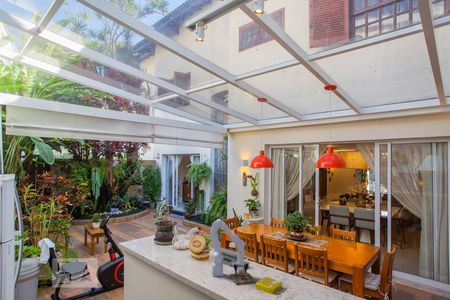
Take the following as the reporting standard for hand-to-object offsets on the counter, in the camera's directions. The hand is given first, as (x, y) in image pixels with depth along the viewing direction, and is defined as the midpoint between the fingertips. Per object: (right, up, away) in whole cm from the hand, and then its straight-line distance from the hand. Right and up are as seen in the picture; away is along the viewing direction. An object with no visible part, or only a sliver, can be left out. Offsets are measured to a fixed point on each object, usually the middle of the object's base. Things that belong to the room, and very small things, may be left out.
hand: (240, 273), depth 216 cm
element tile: (+20, -2, -18) cm, 27 cm away
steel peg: (0, -2, 0) cm, 2 cm away
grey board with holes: (+1, -2, -4) cm, 5 cm away
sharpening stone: (-10, -4, +30) cm, 32 cm away
